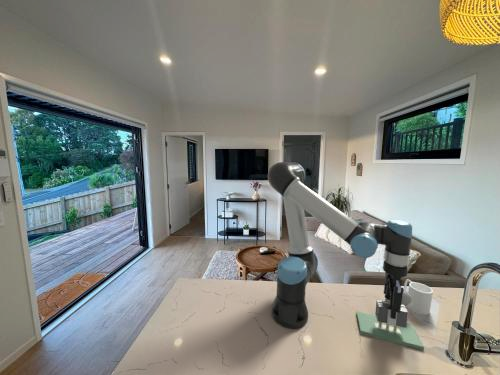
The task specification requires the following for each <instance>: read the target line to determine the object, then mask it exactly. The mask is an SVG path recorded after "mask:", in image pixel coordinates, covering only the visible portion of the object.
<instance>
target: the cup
mask: <svg viewBox="0 0 500 375" xmlns="http://www.w3.org/2000/svg"><path fill="white" fill-rule="evenodd" d="M408 284H409V285H408ZM407 285H408V290H407ZM403 286H404V287H403V288H404V290H405V291H407V292H408V293H409V294H410V296H411V302H410V304H408V305H407V306H406V307H408V309H409V310H411V311H412V312H414V313H417V314H419V315H425V316H426V315H429V314H430V312H431V307H432V306H431V305H432V300H433V293H434V290H433V289H432V288H431V287H430V286H428V285H426V284H423V283H421V282H418V281H417V282H415V281H412V280H410V279H408V278H407V279H405V282H404V284H403Z"/></svg>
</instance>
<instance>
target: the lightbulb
mask: <svg viewBox="0 0 500 375" xmlns="http://www.w3.org/2000/svg"><path fill="white" fill-rule="evenodd" d="M410 302H411V296H410V294H409V293H408V290H407V291H405V290H404V292H403V295H402V302H401V305H404V306H405V308H406V309H407V307H408V306H407V305H408V304H410Z"/></svg>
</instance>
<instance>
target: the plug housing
mask: <svg viewBox="0 0 500 375" xmlns="http://www.w3.org/2000/svg"><path fill="white" fill-rule="evenodd" d="M375 302H376V303H375V312H374V314H375V316H376V318H377V321H378V322H382V323H387V316H388V308H387V307H390V302H385V300H380V299H376V301H375ZM408 315H409V313H408V309H407V307H406V308H405V306H404V305H401V310H400V313H398V312H397V319H396V326H400V327H405V328H406V325H407V323H408Z"/></svg>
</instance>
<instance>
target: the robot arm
mask: <svg viewBox="0 0 500 375" xmlns="http://www.w3.org/2000/svg"><path fill="white" fill-rule="evenodd" d="M305 171H306V170H305V169H304V168H303V166H302V165H301V164H299V163H297V162H293V161H287V162H286V161H285V162H284V161H281V162H277V163H274V164H273V165H272V166H270V168H269V169H268V172H267V179H268V183H269V184H270V186H271V188H272V189H273V190H275V191H276V192H277V193H278V194H279V195H280V196H282V199H283V200H282V201H283V205H284V212H285V219H286V226H287V232H288V239H289V245H290V246H289V247H288V248H287V255H288V257H287V256H286V257H283V258H282V259H281V260H280V261H279V262H278V265H277V270H276V274H277V278H276V280H277V281H276V295H275V297H274V301H273V303H272V306H271V317H272V319H273V320H274V321H275V322H276V323H277V324H278V325H280V326H281V327H284V328H286V329H300V328H302V327H304V326H305V325H307V323H308V320H309V311H308V306H307V303H306V288H307V284H308V282H309V281H310V280H311V278H312V277H313V275H314V274H315V273H316V272H317V269H318V265H319V259H318V256H317V254H316V253H315V252H314V248H313V246H312V245H310V242H309V241H310V240H309V236H308V234H309V233H308V230H307V229H308V228H307V221H306V215H305V214H306V213H305V211H306V212H307V213H308V214H309V215H311V216H312V217H313V218H314V219H316V220H317V221H318V222H320V223H321V224H323V225H324V227H326V228H327V229H329V230H330V231H331V232H333V233H334V234H335V235H337V236H338V237H339V238H340V239H342V240H343V241H344V242H346V244H348V245H349V246H350V249H351V251H352V253H353V254H354V255H355V256H357V257H359V258H363V259H367V258H372V257H373V256H374V255H375V254H376V252H377V249H378V247H379V245H380V246H381V245H382V246H384V252H383V263H382V264H383V266H382V269H383V271H384V272H385V276H384V286H383V294H384V298H385V299H384V301H385V302H390V307H387V308H388V316H387V324H389V325H393V326H396V319H397V312H398V313H400V310H401V302H402V295H403V292H404V287H402V285H403V281H402V278H405V277H407V276H408V273H409V271H408V270H409V261H410V259H411V258H412V257H411V254H410V253H411V246H412V239H413V225H412V224H411V223H409V222H408V221H406V220H405V221H404V220H398V219H389V220H388V221H387V224H381V223H375V222H368V221H364V220H354V219H352V218H351V217H349V216H348V215H347V214H345V213H344V212H343V211H341V210H340V209H338V208H337V207H336V206H334V205H333V204H331V203H330V202H328V201H327V200H326V199H325V198H323V197H321V196H320V195H319V194H318V193H316V192H315V191H314V190H312V189H310V188H309V187H308V186H306V185H305V184H304V182H305V179H306V172H305Z"/></svg>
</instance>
